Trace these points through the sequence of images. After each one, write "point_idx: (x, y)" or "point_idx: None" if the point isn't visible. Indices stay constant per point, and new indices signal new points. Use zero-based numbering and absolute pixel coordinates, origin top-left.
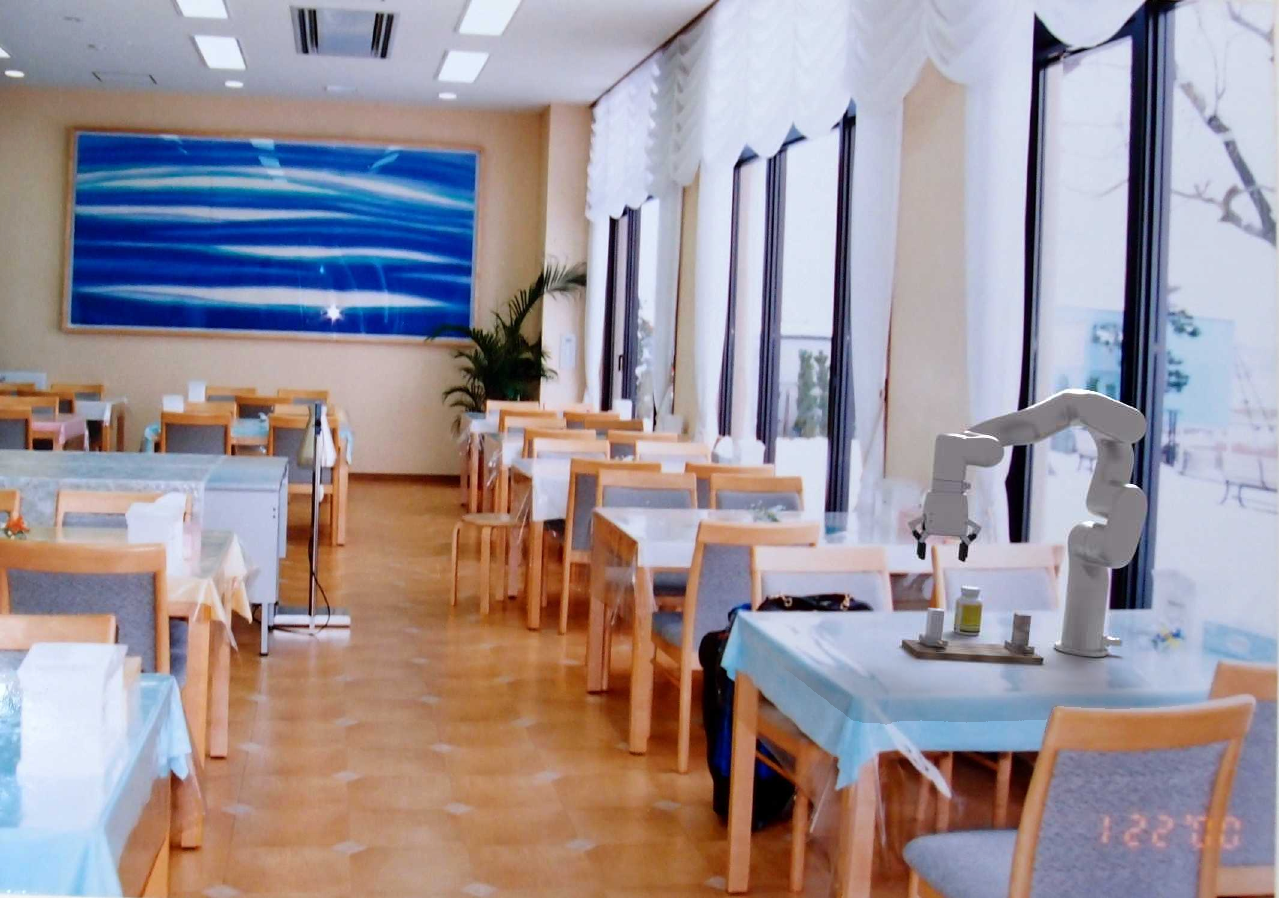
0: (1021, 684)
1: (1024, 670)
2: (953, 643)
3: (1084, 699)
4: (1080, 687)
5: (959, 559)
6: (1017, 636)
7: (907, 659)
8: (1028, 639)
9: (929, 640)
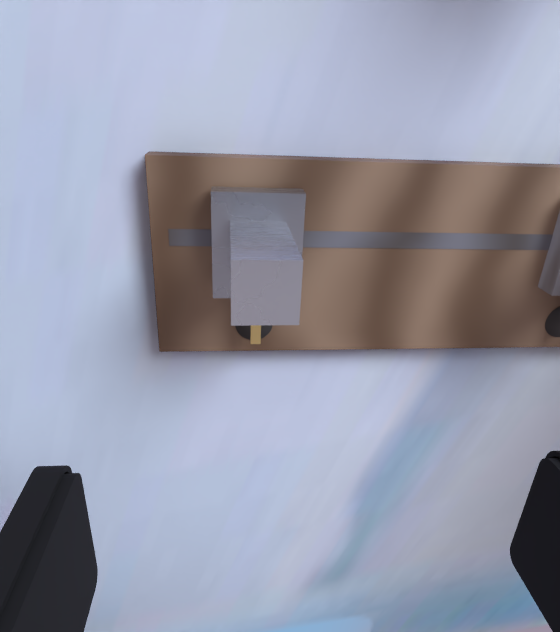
0: (376, 537)
1: (468, 414)
2: (360, 191)
3: (459, 604)
4: None
5: (533, 490)
6: None
7: (123, 364)
8: None
9: (223, 296)
